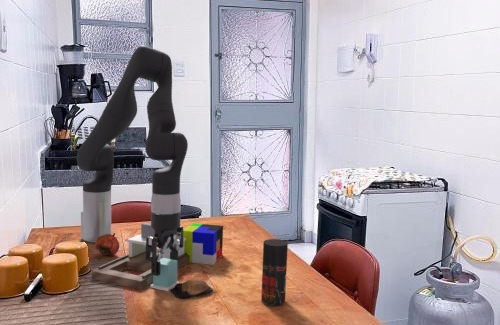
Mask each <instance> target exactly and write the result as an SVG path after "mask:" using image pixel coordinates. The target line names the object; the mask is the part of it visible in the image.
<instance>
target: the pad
mask: <svg viewBox="0 0 500 325" xmlns="http://www.w3.org/2000/svg"><path fill="white" fill-rule="evenodd" d="M177 283H180V281H177ZM177 283H175V284H173V285H172V286H170V287H168V288H166V287H161V286H156V285H153V283H152V284H150V286H149V288H152V289H157V290H160V291H165V292H170V289H173V288H174V287H175V285H176V284H177Z"/></svg>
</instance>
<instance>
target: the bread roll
mask: <svg viewBox="0 0 500 325" xmlns="http://www.w3.org/2000/svg"><path fill="white" fill-rule="evenodd" d="M169 292H170V293H171V294H172V295H173V296H174V297H175V298H176V299H179V300H182V301H184V300H191V299H195V298H200V297H205V296H209V295H212V294H216V293H217V291H216V290H215V289H214V288H213V287H211V285H208V283H207V282H206V281H204V279H200V278H196V279H195V278H194V279H189V280H185V282H179V283H177V284H176V285H175V287H174V288H172V289H170V290H169Z"/></svg>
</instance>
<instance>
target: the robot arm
mask: <svg viewBox="0 0 500 325" xmlns="http://www.w3.org/2000/svg"><path fill="white" fill-rule="evenodd" d="M172 64H173V63H172V59H171V57H170V55H168V54H167V53H166V52H164V51H161V50H159V49H155V48H153V47H150V46H147V45H143V44H142V45H138V47H137V48H135V50H134V51H133V53H132V54H131V57H130V59H129V61H128V63H127V65H126V68H125V70H124V73H123V74H122V77H121V79H120V82H118V85H117V87H116V89H115V91H114V92H113V94H112V96H111V97H110V99H109V101H107V103H106V105H105V107H104V109H103V111H102V113H101V115H100V117H99V119H98V120H97V122H96V123H95V125H94V127H93V129H92V130H91V132H90V133H89V135H88V136H87V137H86V138H85V140H84V141H82V142H83V143H82V144H81V145H80V147H79V148H78V151H77V155H76V164H77V167H78V168H79V169H80V170H82V171H83V172H95V173H94V175H93V176H92V177H90V178H88V179H86V180H85V181H84V182H83V183H82V211H81V212H80V238H81V240H83V241H85V242H86V243H87V242H88V243H96V240H97V238H98V237H100V236H102V235H105V234H111V235H112V184H113V182H114V181H113V180H114V166H115V165H114V164H115V163H114V162H115V156H114V150H113V148H112V146H111V145H110V144H109V143H111V142H112V141H114V140H115V139H116V138H118V137H119V136H121V135H123V133H125V132H126V131H127V130H128V128H130V126H131V124H132V123H133V121H134V120H135V118H136V116H137V114H138V105H137V104H138V103H137V99H136V92H135V84H136V82H137V80H138V79H139V78H140V79H143V80H146V81H149V82H152V83H156V85H157V88H156V90H155V91H154V92H153V94H151V96H150V97H149V98H148V101H147V105H146V112H147V113H146V114H147V120H148V133H147V137H146V140H145V153H146V155H147V157H148V158H149V159H150V160H153V161H171V163H170V164H169V165H168V166H166V167H163V168H159V169H156V170H154V171H153V172H152V177H151V179H152V180H151V181H152V182H151V183H152V184H151V185H152V186H151V187H152V188H151V189H152V190H151V200H150V223H151V227H152V228H153V229H154V230H155V234H154V237H147V238H146V256H145V259H146V260H148V261H151V273H152V275H155V276H159V275H160V259H161V256H162V254H164V253H165V250H166V249H167V248H168V247H169V249H170V250H171V251H170V259H172V260H177V265H178V252H179V251H180V248H183V230H184V227H183V226H181V204H182V203H181V194H180V193H181V173H182V168H183V164H184V161H185V158H186V155H187V152H188V145H189V143H188V140H187V137H186V136H185V135H184V133H181V132H174V131H175V129H176V126H177V122H176V121H177V120H176V117H175V110H174V107H173V105H174V104H173V96H172V95H173V94H172V93H173V65H172ZM177 239H179V240H180V243H179V242H178V240H177ZM150 252H152V253H151V256H150ZM156 253H158V255H157V257H156Z"/></svg>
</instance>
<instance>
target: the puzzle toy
mask: <svg viewBox="0 0 500 325" xmlns="http://www.w3.org/2000/svg"><path fill="white" fill-rule="evenodd" d="M183 237H185V238H186V241H185V246H184V254H185V253H187V255H189V263H192V264H193V263H194V264H200V265H201V264H202V265H203V264H204V265H212V266H213V265H214V264H215V263H216V262H217V261H218V260H219V259H220V258H221V257H222V256H223V247H224V246H223V242H224V225H219V224H218V225H217V224H206V223H197V222H195V223H194V222H193V223H192V224H190V225H189V226H187V227H185V228H183Z"/></svg>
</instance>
